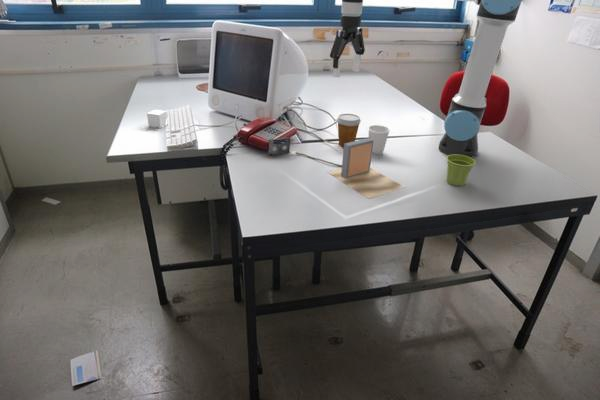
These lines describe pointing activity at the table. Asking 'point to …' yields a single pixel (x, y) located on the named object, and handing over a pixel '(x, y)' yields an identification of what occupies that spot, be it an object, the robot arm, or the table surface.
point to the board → (368, 183)
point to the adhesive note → (157, 118)
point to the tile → (357, 157)
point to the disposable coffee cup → (347, 128)
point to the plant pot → (458, 168)
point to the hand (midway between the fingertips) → (346, 74)
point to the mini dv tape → (279, 145)
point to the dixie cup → (378, 137)
